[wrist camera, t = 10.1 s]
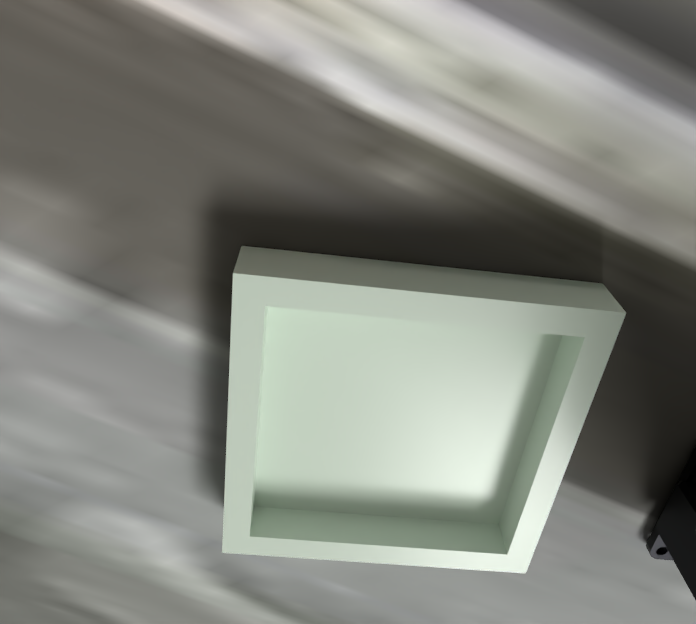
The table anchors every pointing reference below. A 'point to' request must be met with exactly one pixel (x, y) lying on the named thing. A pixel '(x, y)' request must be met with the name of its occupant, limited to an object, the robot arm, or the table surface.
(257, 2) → the table surface
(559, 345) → the pale green dish
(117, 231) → the table surface
